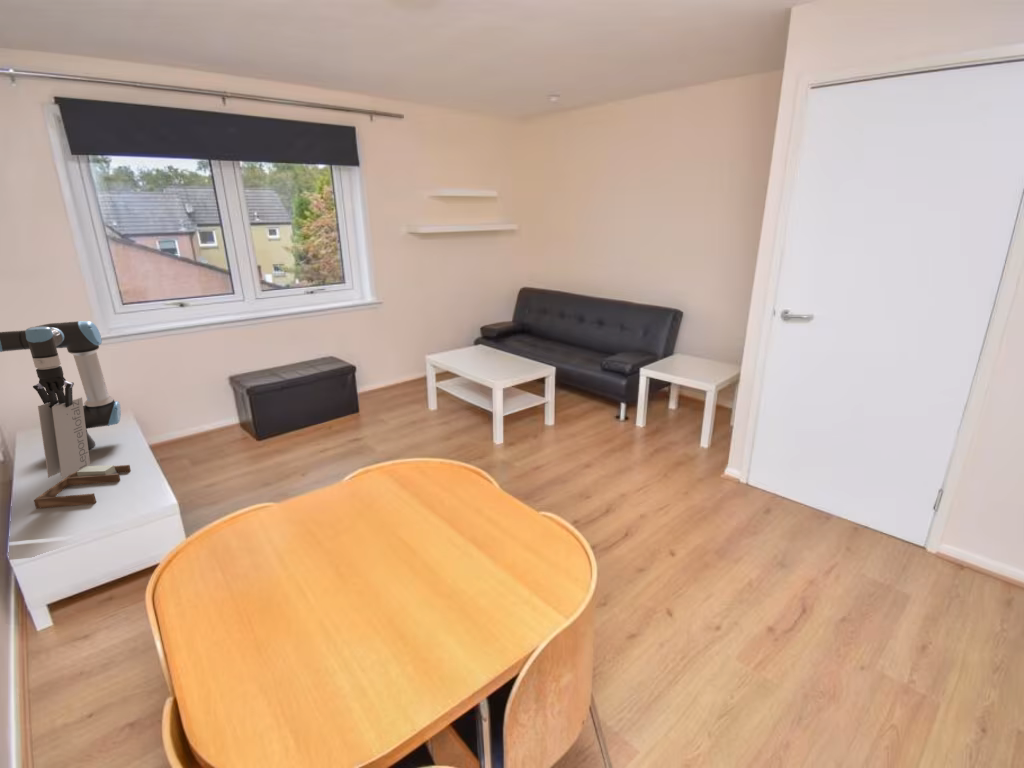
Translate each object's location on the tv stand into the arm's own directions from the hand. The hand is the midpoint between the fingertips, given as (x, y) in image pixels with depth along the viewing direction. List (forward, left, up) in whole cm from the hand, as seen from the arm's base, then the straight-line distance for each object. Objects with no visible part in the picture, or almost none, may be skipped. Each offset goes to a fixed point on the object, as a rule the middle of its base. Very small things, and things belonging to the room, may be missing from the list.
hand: (64, 423), depth 202 cm
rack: (0, 0, -32) cm, 32 cm away
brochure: (0, -3, -21) cm, 21 cm away
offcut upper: (-13, -2, -29) cm, 32 cm away
